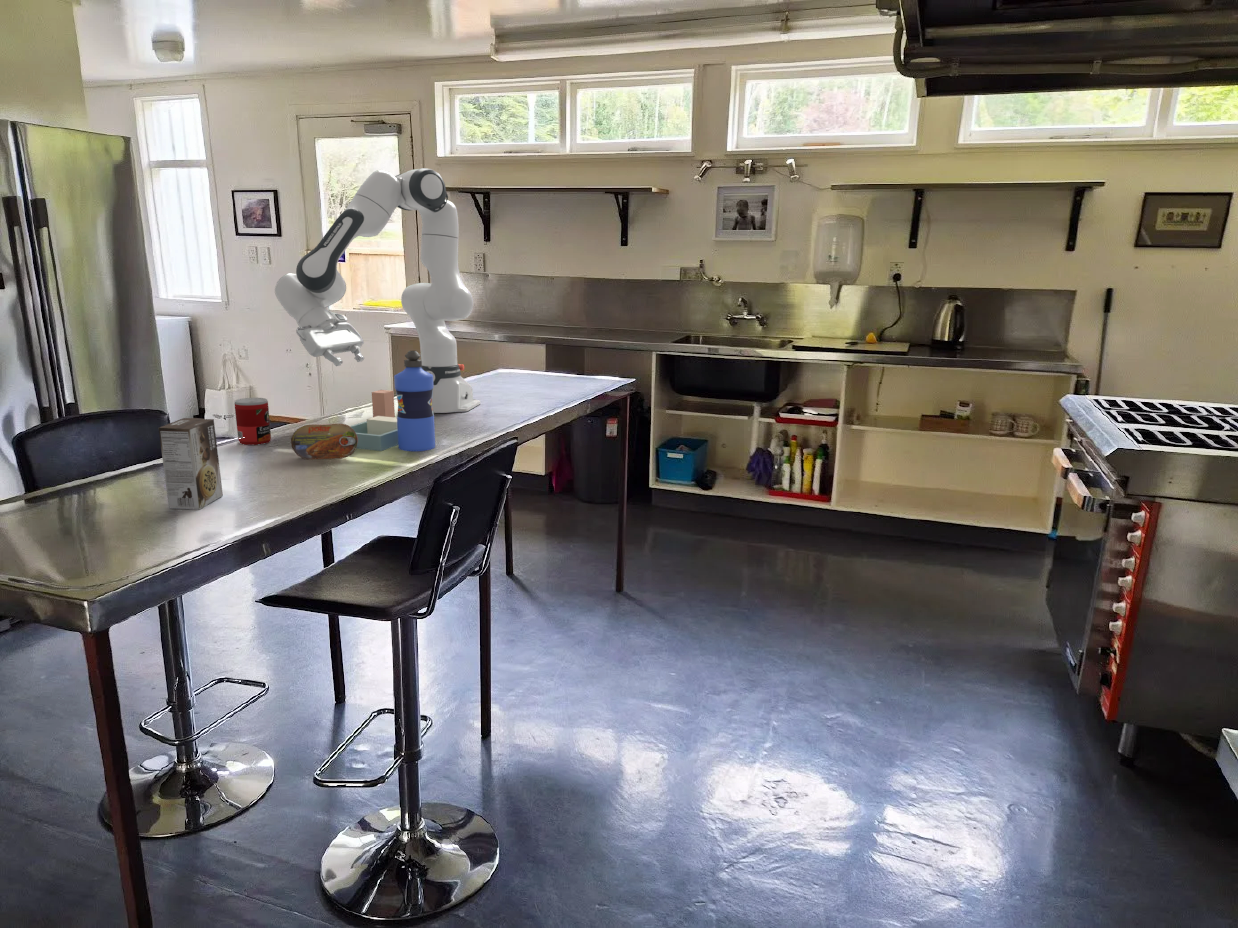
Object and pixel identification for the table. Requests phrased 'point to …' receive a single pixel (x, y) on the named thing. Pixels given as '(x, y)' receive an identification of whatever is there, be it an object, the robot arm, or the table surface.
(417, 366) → the water bottle
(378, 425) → the beige rectangular block
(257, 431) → the canned food
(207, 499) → the cookie box
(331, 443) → the tin
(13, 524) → the table surface
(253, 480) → the table surface
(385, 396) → the salmon brown rectangular block
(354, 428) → the tote
